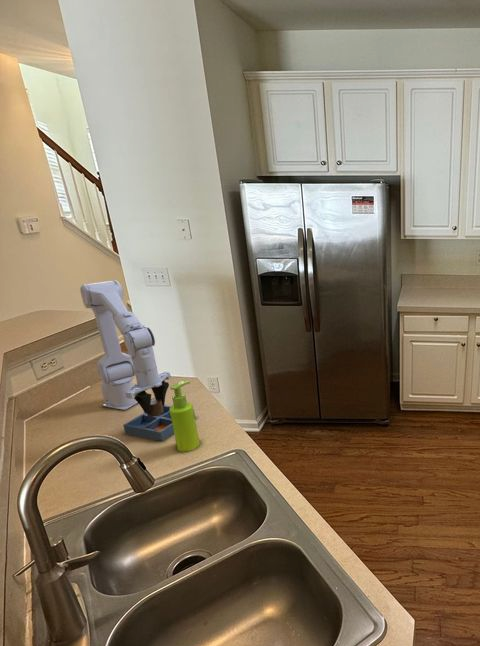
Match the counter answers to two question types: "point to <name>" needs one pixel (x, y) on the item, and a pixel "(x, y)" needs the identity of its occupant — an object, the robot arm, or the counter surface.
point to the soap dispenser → (183, 420)
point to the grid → (151, 425)
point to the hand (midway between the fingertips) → (154, 409)
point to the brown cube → (156, 407)
